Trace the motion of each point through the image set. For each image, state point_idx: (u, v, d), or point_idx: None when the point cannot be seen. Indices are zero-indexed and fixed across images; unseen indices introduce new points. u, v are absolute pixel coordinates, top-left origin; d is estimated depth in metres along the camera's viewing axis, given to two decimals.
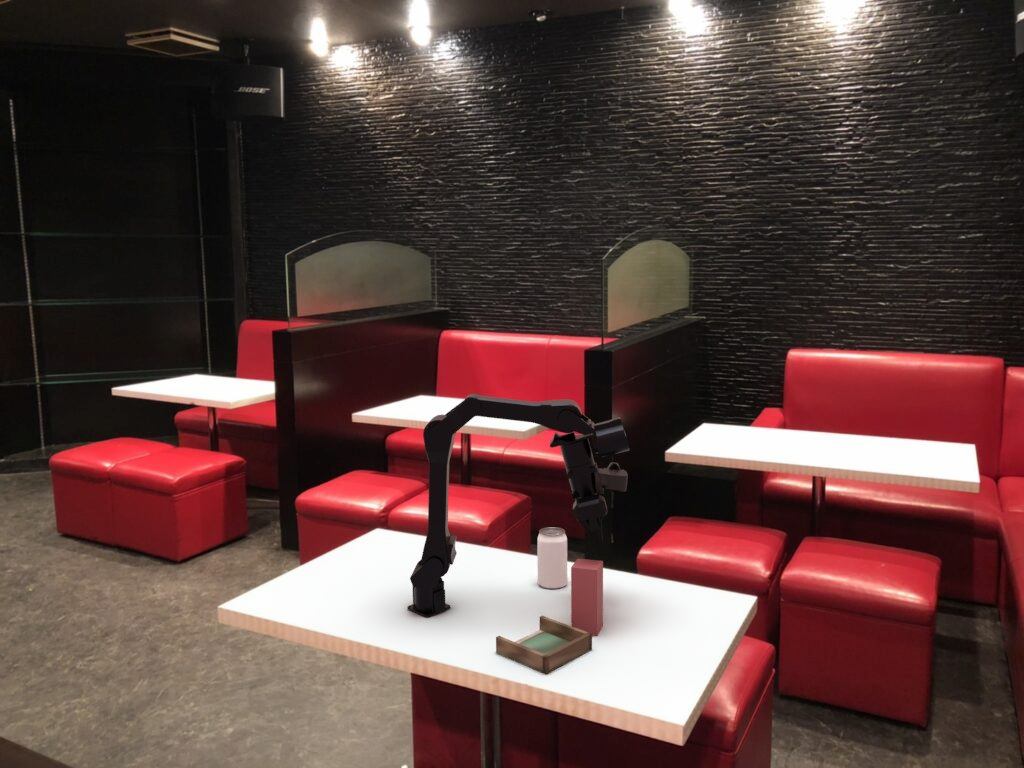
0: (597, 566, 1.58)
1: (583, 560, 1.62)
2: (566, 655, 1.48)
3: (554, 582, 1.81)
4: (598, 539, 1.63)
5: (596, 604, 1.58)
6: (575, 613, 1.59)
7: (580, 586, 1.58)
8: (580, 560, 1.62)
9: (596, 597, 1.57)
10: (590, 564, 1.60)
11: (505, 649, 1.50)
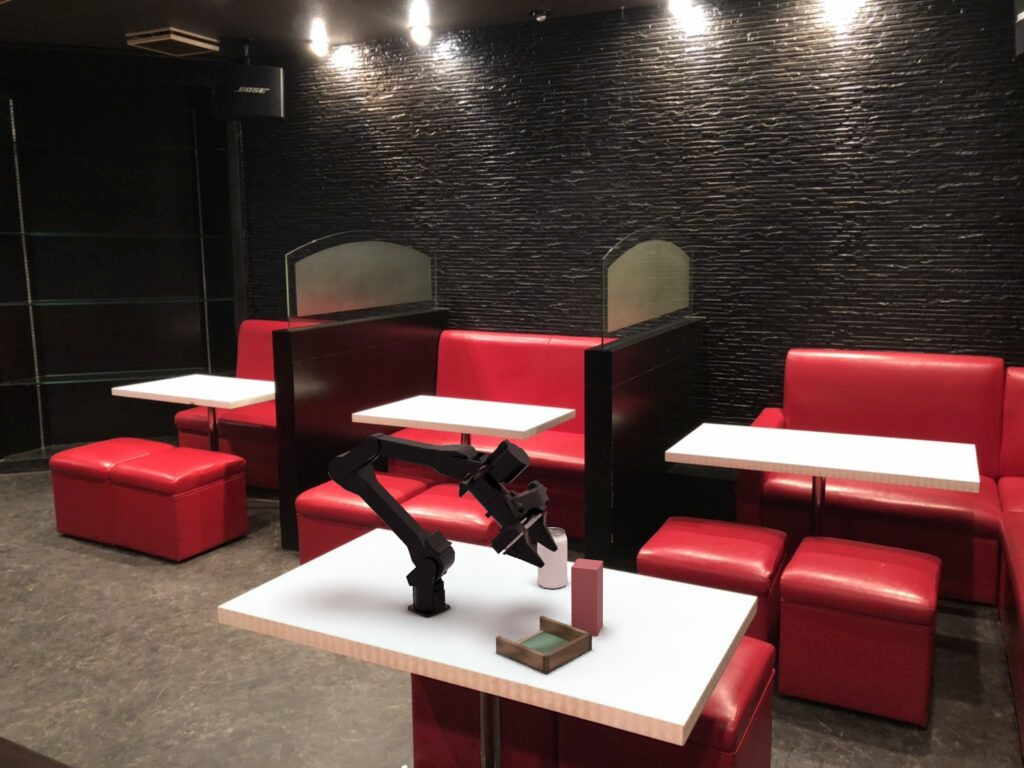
0: (597, 566, 1.58)
1: (583, 560, 1.62)
2: (566, 655, 1.48)
3: (554, 582, 1.81)
4: (538, 562, 1.57)
5: (596, 604, 1.58)
6: (575, 613, 1.59)
7: (580, 586, 1.58)
8: (580, 560, 1.62)
9: (596, 597, 1.57)
10: (590, 564, 1.60)
11: (505, 649, 1.50)
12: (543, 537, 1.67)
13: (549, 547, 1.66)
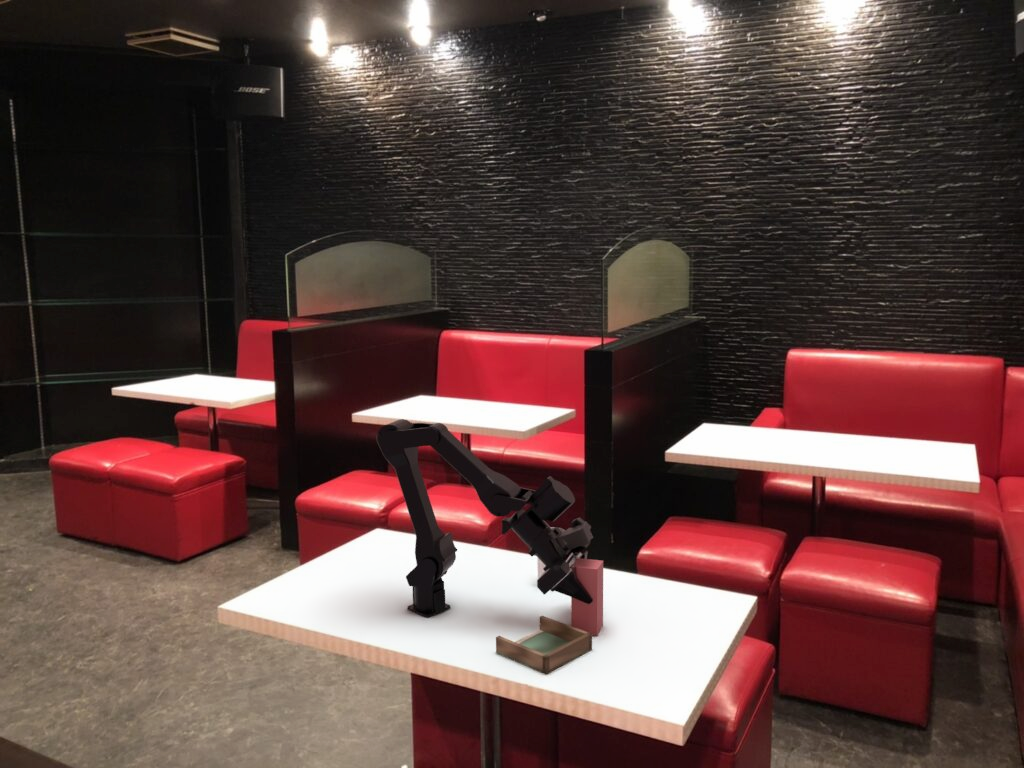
0: (597, 566, 1.58)
1: (583, 559, 1.62)
2: (566, 655, 1.48)
3: None
4: (586, 598, 1.57)
5: (596, 604, 1.58)
6: (575, 613, 1.59)
7: None
8: (580, 559, 1.62)
9: (596, 596, 1.58)
10: (590, 563, 1.60)
11: (505, 649, 1.50)
12: None
13: None
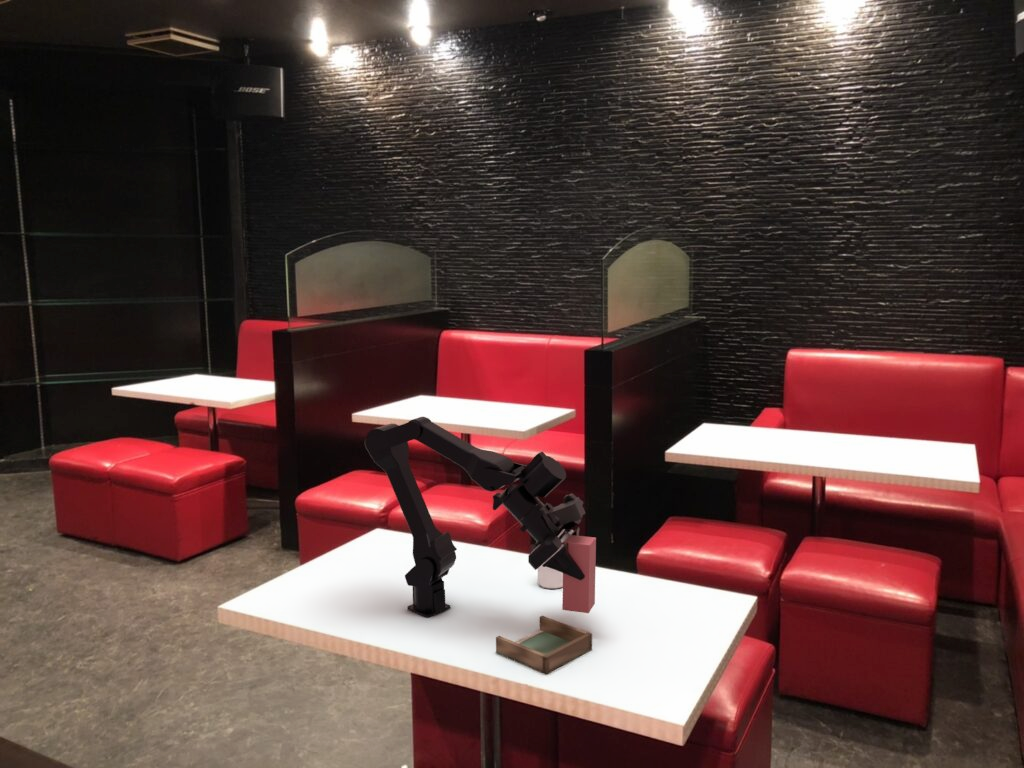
0: (589, 542, 1.56)
1: (576, 536, 1.60)
2: (566, 655, 1.48)
3: (554, 582, 1.81)
4: (578, 574, 1.55)
5: (588, 580, 1.55)
6: (567, 590, 1.57)
7: None
8: (573, 536, 1.60)
9: (588, 573, 1.55)
10: (583, 540, 1.57)
11: (505, 649, 1.50)
12: None
13: None
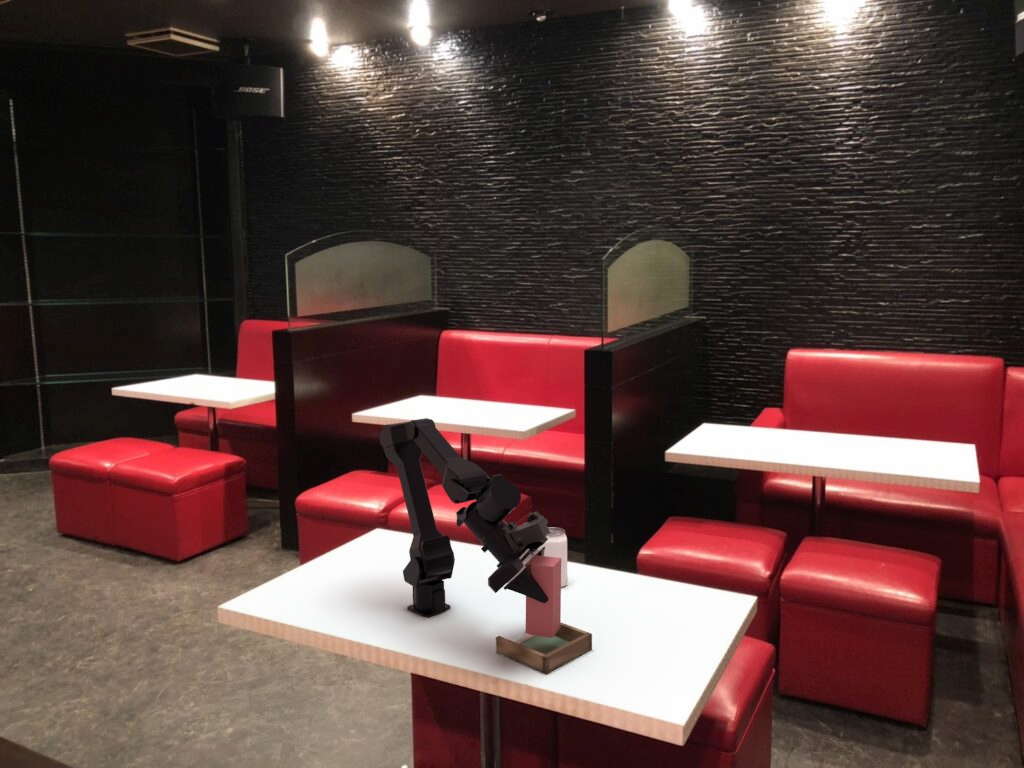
0: (553, 563, 1.49)
1: (540, 556, 1.53)
2: (566, 655, 1.48)
3: None
4: (541, 597, 1.48)
5: (552, 603, 1.48)
6: (530, 613, 1.50)
7: None
8: (537, 556, 1.53)
9: (552, 596, 1.48)
10: (547, 561, 1.50)
11: (505, 649, 1.50)
12: None
13: None
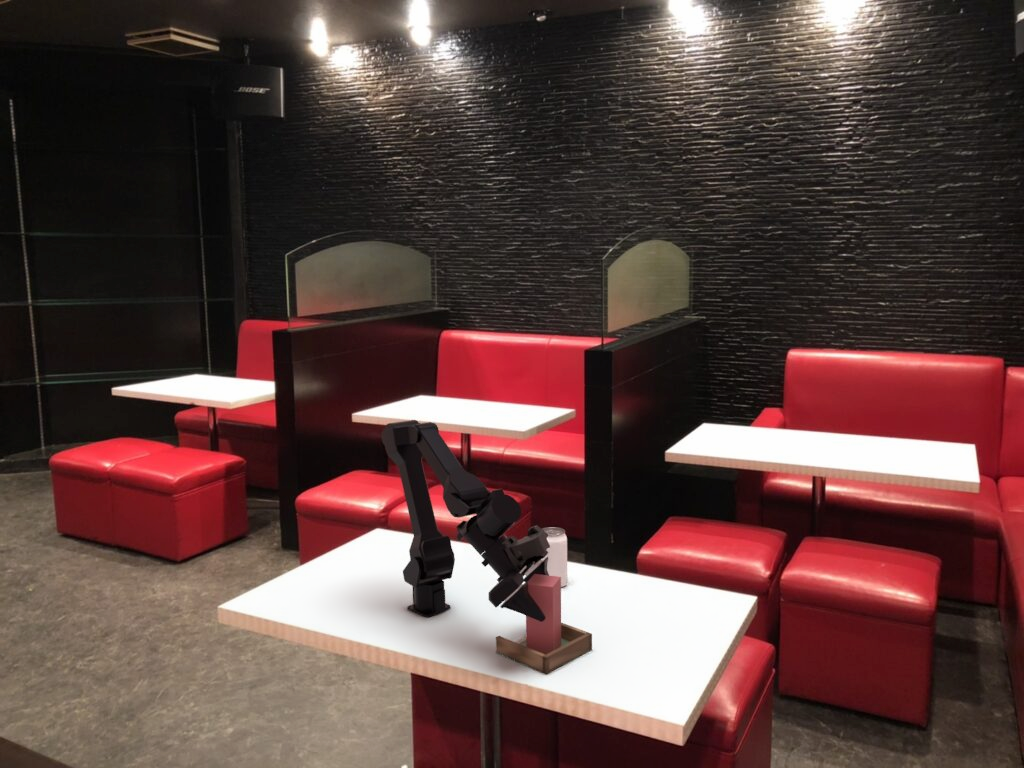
0: (553, 583, 1.49)
1: (540, 575, 1.53)
2: (566, 655, 1.48)
3: None
4: (539, 615, 1.46)
5: (552, 623, 1.49)
6: (530, 632, 1.50)
7: None
8: (537, 575, 1.53)
9: (552, 616, 1.48)
10: (546, 580, 1.51)
11: (505, 649, 1.50)
12: None
13: None
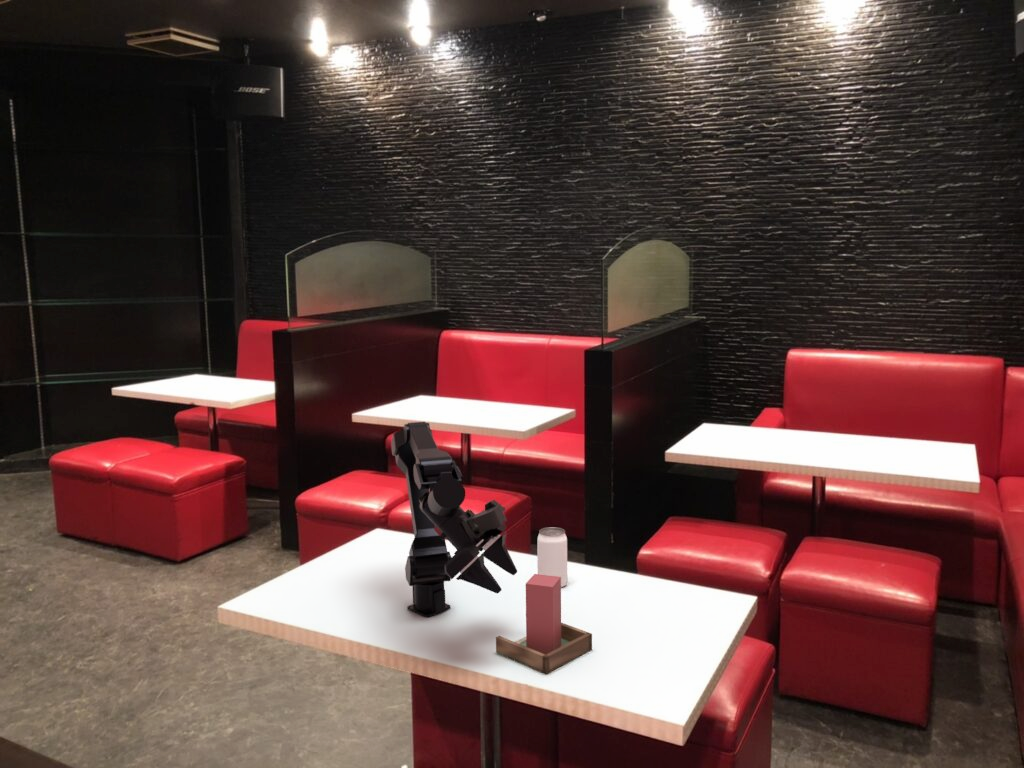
0: (553, 583, 1.49)
1: (540, 575, 1.53)
2: (566, 655, 1.48)
3: None
4: (494, 587, 1.49)
5: (552, 623, 1.49)
6: (530, 632, 1.50)
7: (535, 604, 1.49)
8: (537, 575, 1.53)
9: (552, 616, 1.48)
10: (546, 580, 1.51)
11: (505, 649, 1.50)
12: (502, 559, 1.58)
13: (508, 570, 1.58)
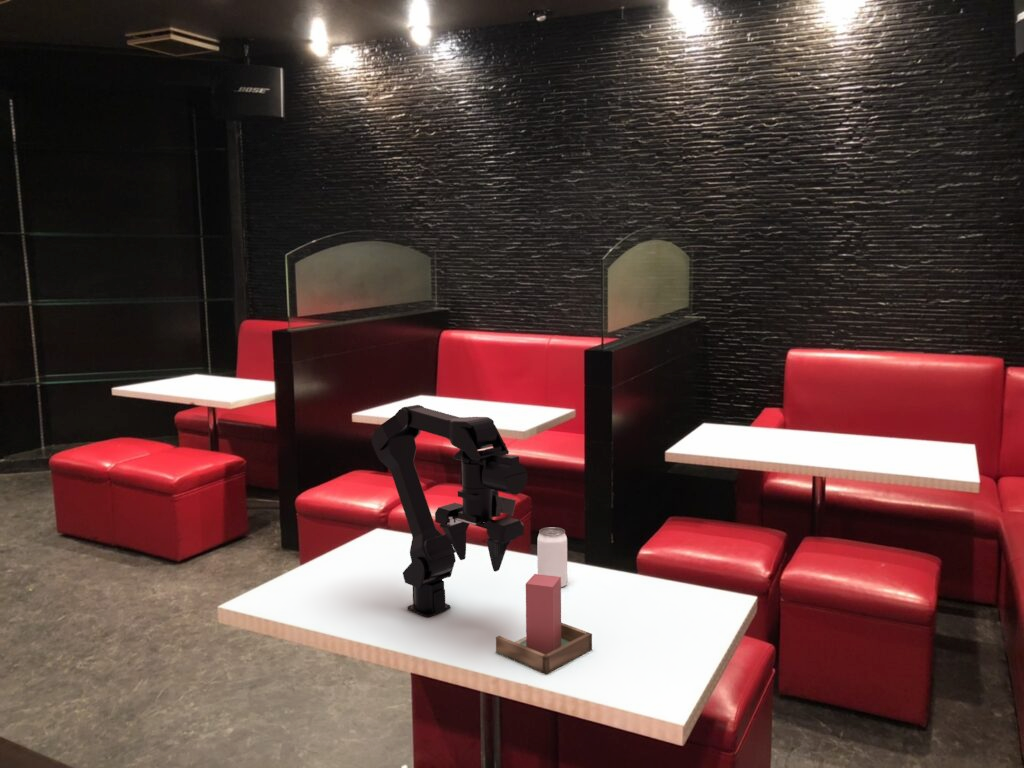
0: (553, 583, 1.49)
1: (540, 575, 1.53)
2: (566, 655, 1.48)
3: None
4: (497, 565, 1.56)
5: (552, 623, 1.49)
6: (530, 632, 1.50)
7: (535, 604, 1.49)
8: (537, 575, 1.53)
9: (552, 616, 1.48)
10: (546, 580, 1.51)
11: (505, 649, 1.50)
12: (461, 541, 1.62)
13: (461, 553, 1.62)
